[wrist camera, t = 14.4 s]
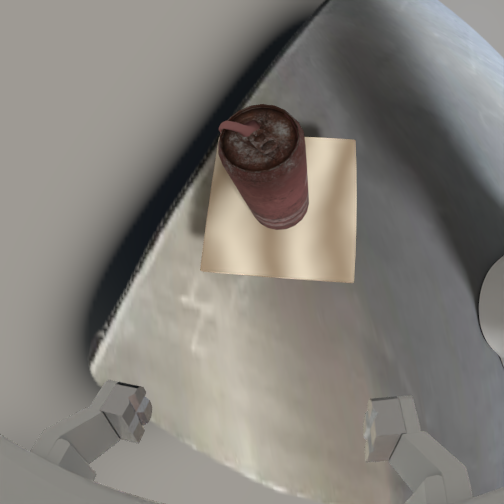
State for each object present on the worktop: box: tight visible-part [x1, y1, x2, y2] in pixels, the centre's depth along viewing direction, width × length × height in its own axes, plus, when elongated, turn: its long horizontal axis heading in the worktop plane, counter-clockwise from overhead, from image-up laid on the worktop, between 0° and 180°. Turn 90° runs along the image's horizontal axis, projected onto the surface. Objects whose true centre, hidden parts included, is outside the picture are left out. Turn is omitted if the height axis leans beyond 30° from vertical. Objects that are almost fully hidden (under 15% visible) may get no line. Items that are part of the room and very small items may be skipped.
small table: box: [200, 137, 357, 283], centre depth 37 cm, size 16×16×7 cm
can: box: [218, 104, 309, 230], centre depth 27 cm, size 6×6×14 cm
